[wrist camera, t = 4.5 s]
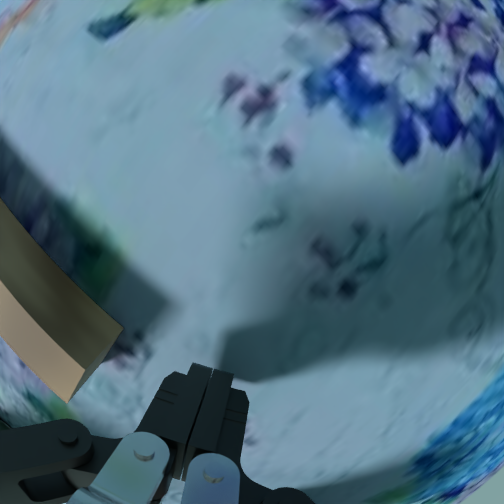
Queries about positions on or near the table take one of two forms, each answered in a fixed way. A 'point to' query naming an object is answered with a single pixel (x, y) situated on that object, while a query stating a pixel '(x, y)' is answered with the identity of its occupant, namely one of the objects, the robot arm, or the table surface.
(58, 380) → the tong jaw
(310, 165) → the table surface
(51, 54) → the table surface
